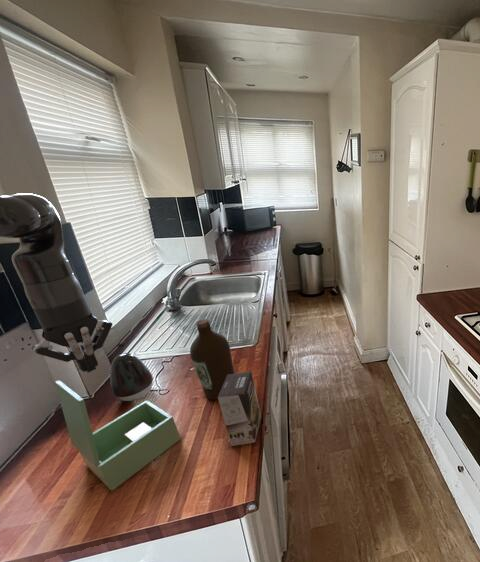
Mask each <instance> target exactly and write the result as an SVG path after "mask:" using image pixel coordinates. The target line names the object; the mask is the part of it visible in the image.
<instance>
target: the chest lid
mask: <svg viewBox="0 0 480 562" xmlns="http://www.w3.org/2000/svg"><path fill="white" fill-rule="evenodd" d="M54 385H55V388H56V392H57V396H58V399H59V402H60V406H61V411H62V413H63V417H64V420H65V424H66V429H67V432H68V435H69V438H70V442H71V444H72V445H73V446H74V447H75V448H76V449H77V451H78V452H79V451H80V452H81V453H82V454H83V455H84V456H85V457H86V458H87V459H88V460H89V461H90V462H91V463H92V464H93V465H94V466H96V467H97V466H98V465H100V461H99V457H98V453H97V449H96V445H95V441H94V437H93V430H92V425H91V421H90V418H89V414H88V409H87V406H86V402H85V399H84V398H83V397H81V396H80V395H79V394H78V393H77V392H75V391H74V390H72V389H71V388H70V387H69V386H67V385H66V384H65V383H64V382H62V381H61V380H56V381H54ZM80 452H79V453H80Z"/></svg>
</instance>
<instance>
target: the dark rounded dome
mask: <svg viewBox="0 0 480 562" xmlns="http://www.w3.org/2000/svg"><path fill="white" fill-rule="evenodd" d="M109 379H110V387H111V391H112V394H113V395H114V397H116V398H117V399H119V400H120V401H123V402H133V401H136V400H139V399H142V398H143V397H145V396H146V395H147V394H148V393H149V392H150V391H151V389H152V387H153V384H154V383H153V382H154V376H153V374H152V373H151V371H150V369H149V368H148V367H147V365H146V364H145V362H143V361H142V360H141V358H139V357H137V356H136V355H134V354H132V353H130V352H123V353H120V354H118V355H116V356H115V357H114V358H113V360H112V362H111V365H110V370H109Z"/></svg>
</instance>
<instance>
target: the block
mask: <svg viewBox="0 0 480 562" xmlns="http://www.w3.org/2000/svg"><path fill="white" fill-rule="evenodd" d="M151 429H152V428H151V427H149V426H148V425H147V424H145V423H144V422H143V423H141V424H139V425H138V426H136V427H135V428H133V429H132V430H130V431H129V432H127V433H126V434H124V435H125V437H126V439H127V442H128V444H130V443H132V442H133V441H135V440H136V439H137V438H139V437H140V436H142V435H143V434H145V433H146V432H148V431H149V430H151Z"/></svg>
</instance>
